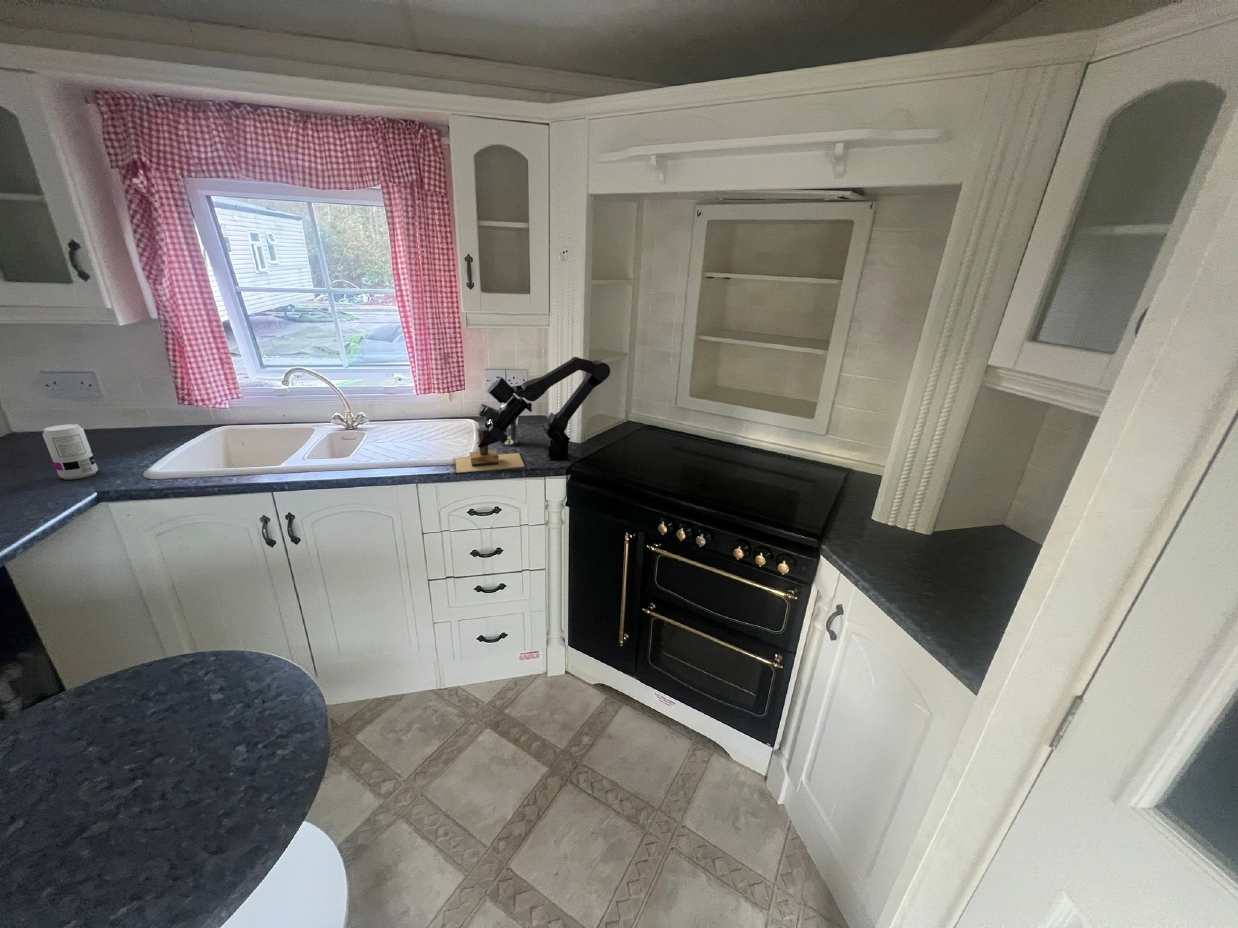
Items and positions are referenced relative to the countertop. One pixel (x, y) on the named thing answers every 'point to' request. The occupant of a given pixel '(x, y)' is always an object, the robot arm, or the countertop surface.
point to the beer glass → (511, 432)
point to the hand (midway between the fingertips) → (478, 445)
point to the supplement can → (70, 451)
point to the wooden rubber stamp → (483, 453)
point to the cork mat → (504, 463)
